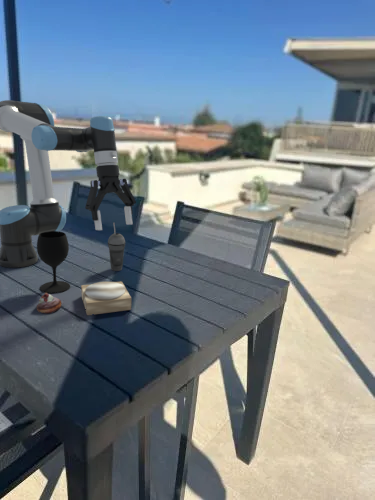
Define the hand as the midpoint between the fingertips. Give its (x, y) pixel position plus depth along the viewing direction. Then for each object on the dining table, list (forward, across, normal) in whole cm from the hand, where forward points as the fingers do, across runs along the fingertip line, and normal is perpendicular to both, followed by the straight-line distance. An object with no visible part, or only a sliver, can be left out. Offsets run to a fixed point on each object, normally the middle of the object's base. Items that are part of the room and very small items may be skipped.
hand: (114, 227), depth 123 cm
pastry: (+23, -25, +7) cm, 34 cm away
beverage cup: (+20, +13, +19) cm, 31 cm away
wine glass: (+20, -15, +19) cm, 32 cm away
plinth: (+24, -10, -2) cm, 26 cm away
